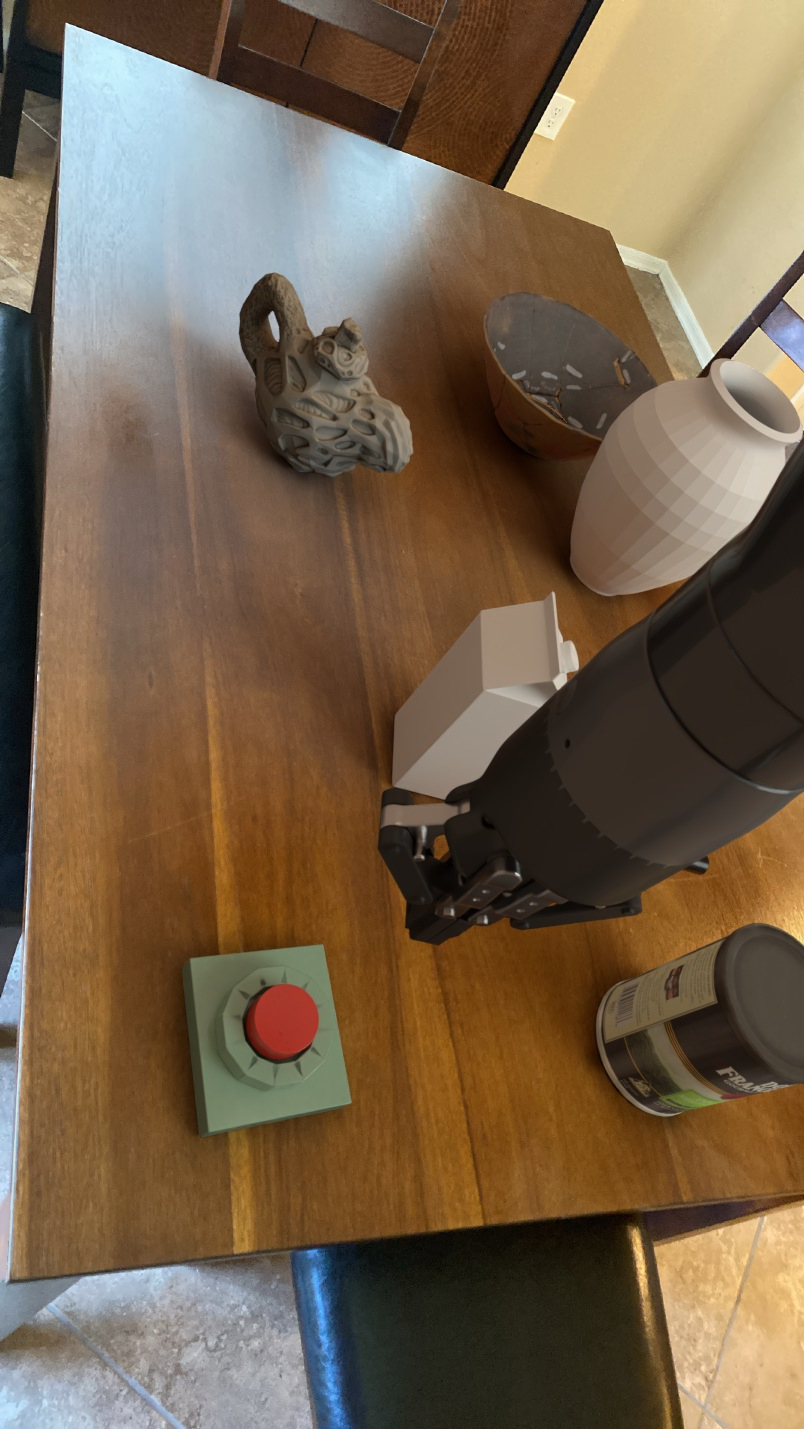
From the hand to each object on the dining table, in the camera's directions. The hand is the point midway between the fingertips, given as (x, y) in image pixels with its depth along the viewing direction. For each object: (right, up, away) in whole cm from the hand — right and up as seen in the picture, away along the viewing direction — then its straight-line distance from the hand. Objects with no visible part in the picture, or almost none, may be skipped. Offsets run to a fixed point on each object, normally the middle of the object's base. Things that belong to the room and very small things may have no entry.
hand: (423, 923), depth 43 cm
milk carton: (+1, +6, +30) cm, 31 cm away
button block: (-10, -10, +13) cm, 19 cm away
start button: (-9, -9, +10) cm, 16 cm away
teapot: (-12, +37, +43) cm, 58 cm away
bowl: (+15, +45, +64) cm, 80 cm away
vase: (+21, +26, +55) cm, 64 cm away
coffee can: (+18, -16, +25) cm, 35 cm away
